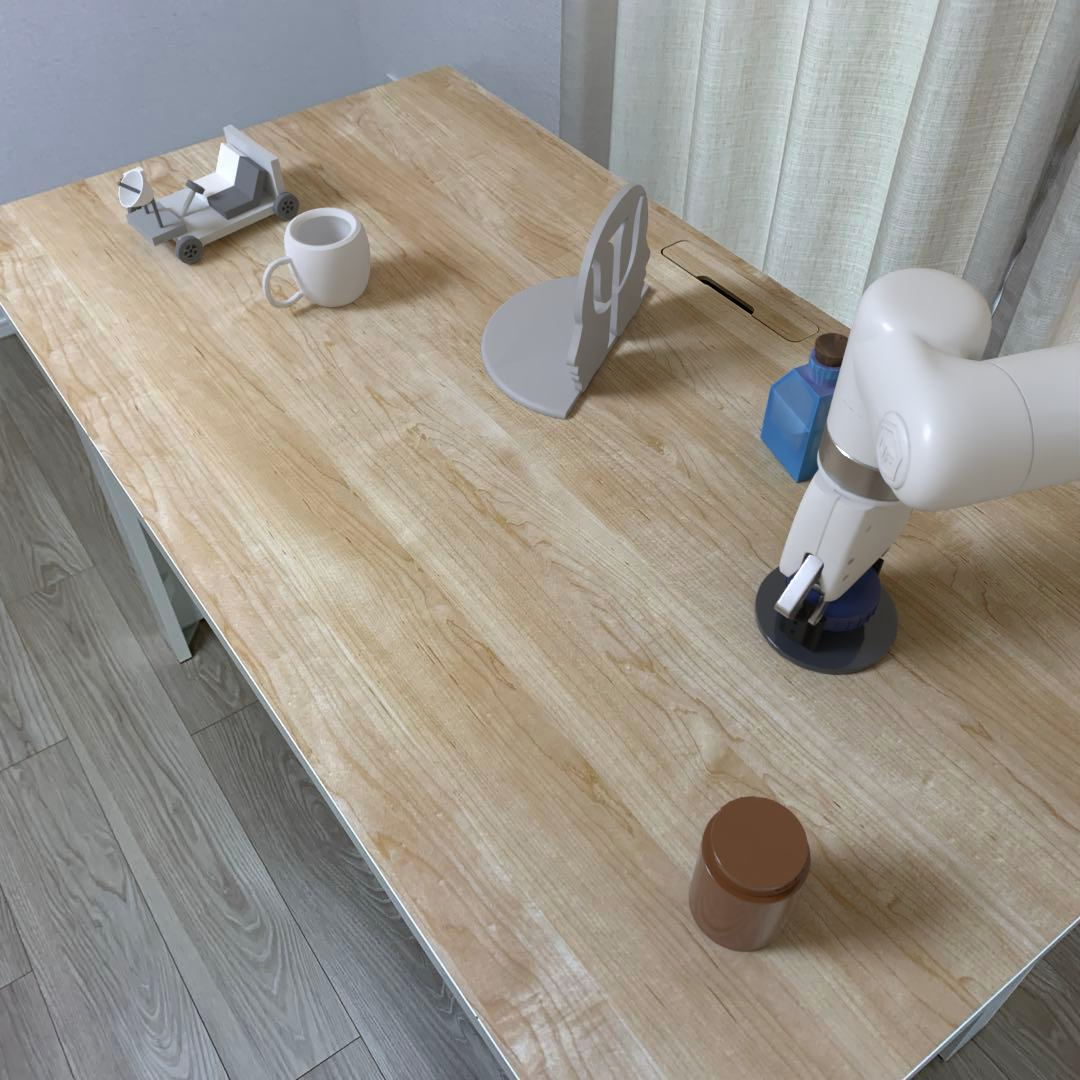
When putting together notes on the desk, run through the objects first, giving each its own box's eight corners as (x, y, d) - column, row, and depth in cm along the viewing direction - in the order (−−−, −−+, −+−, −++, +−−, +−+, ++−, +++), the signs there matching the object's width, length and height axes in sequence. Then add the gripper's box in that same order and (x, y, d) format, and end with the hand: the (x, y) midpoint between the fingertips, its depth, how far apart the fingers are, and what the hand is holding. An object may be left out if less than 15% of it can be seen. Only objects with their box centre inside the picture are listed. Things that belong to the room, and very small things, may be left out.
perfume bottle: (760, 437, 95) (781, 333, 86) (818, 418, 97) (845, 313, 88) (796, 482, 92) (823, 378, 82) (856, 462, 93) (889, 357, 84)
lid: (765, 585, 81) (769, 572, 80) (832, 546, 84) (836, 532, 82) (828, 647, 77) (833, 634, 76) (896, 604, 80) (901, 591, 79)
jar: (809, 912, 67) (838, 852, 60) (735, 972, 65) (756, 917, 58) (741, 836, 71) (762, 770, 64) (668, 890, 68) (681, 829, 61)
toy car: (132, 197, 105) (79, 152, 110) (160, 278, 112) (110, 233, 118) (284, 133, 112) (228, 94, 118) (302, 214, 120) (248, 174, 125)
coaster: (926, 628, 82) (928, 623, 81) (825, 699, 78) (827, 695, 77) (824, 540, 87) (825, 536, 87) (725, 603, 83) (726, 598, 83)
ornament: (566, 421, 97) (567, 270, 84) (441, 382, 101) (424, 231, 88) (652, 288, 110) (665, 139, 97) (538, 258, 113) (536, 110, 101)
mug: (349, 258, 114) (337, 193, 108) (391, 295, 110) (382, 230, 104) (251, 301, 109) (233, 236, 103) (291, 342, 105) (275, 276, 99)
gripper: (902, 360, 74) (848, 524, 88) (752, 491, 66) (718, 648, 80) (998, 410, 71) (927, 573, 84) (852, 555, 63) (800, 708, 76)
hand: (826, 609), depth 82 cm, fingers closed on lid, 6 cm apart
